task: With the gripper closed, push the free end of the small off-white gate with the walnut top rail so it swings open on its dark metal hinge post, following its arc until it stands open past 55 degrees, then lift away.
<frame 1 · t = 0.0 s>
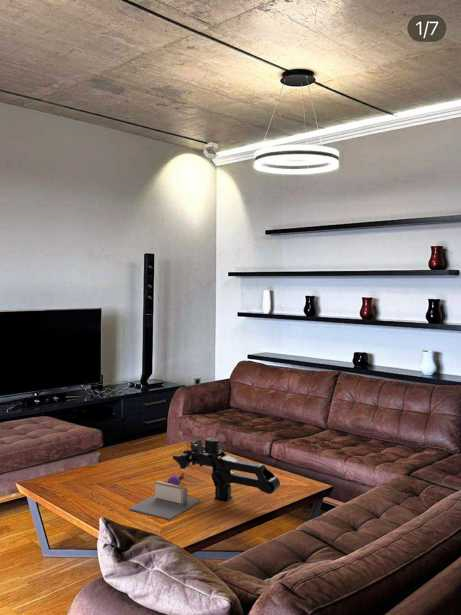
hand: (178, 454, 287), 17 cm above the table, tool horizontal, fingers open, 9 cm apart
gate: (169, 492, 269), point 5 cm above the table, hinge at 0.0°
kendama: (176, 483, 295), on the table
flat gray base plate: (165, 505, 266), on the table
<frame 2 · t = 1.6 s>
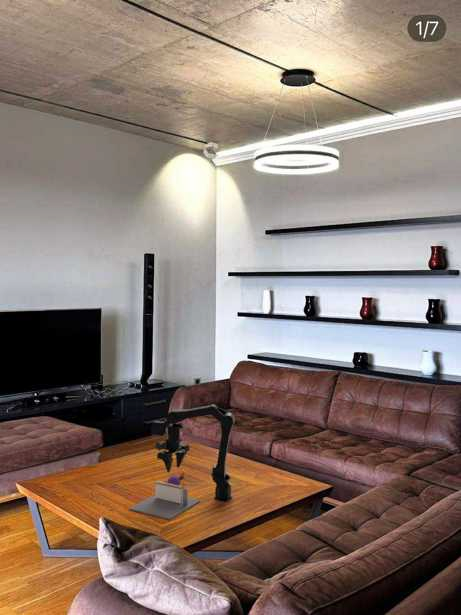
hand: (173, 469, 277), 12 cm above the table, tool pointing down, fingers open, 8 cm apart
nothing on the table moved.
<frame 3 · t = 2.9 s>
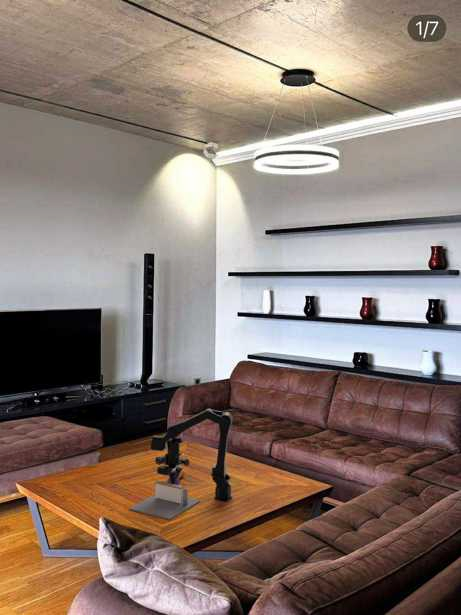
hand: (173, 484, 278), 5 cm above the table, tool pointing down, fingers closed
nothing on the table moved.
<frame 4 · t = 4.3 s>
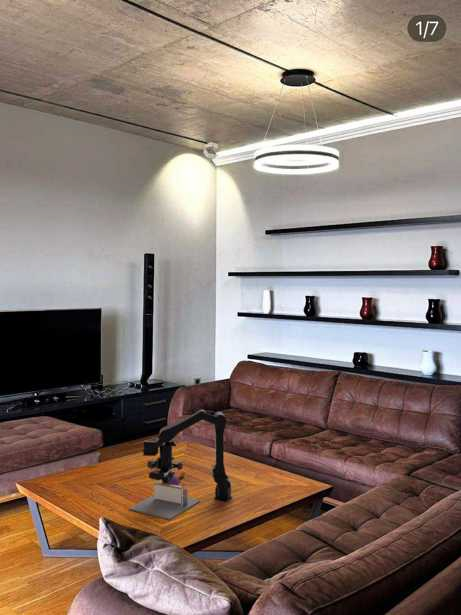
hand: (165, 488, 272), 5 cm above the table, tool pointing down, fingers closed
gate: (168, 492, 269), point 5 cm above the table, hinge at 4.3°, touching gripper
everything else where it was.
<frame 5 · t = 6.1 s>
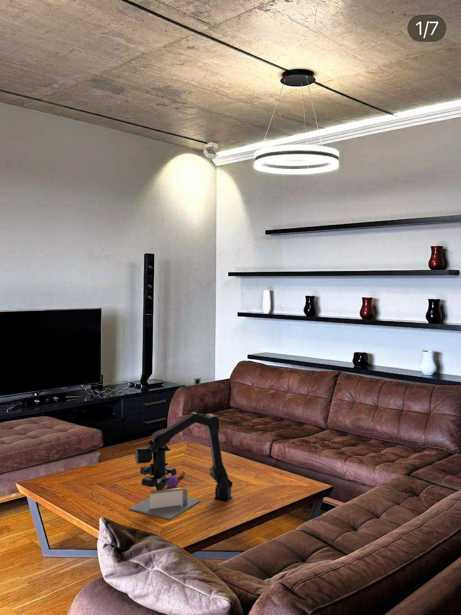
hand: (159, 495, 264), 5 cm above the table, tool pointing down, fingers closed
gate: (166, 498, 262), point 5 cm above the table, hinge at 49.4°, touching gripper
everything else where it was.
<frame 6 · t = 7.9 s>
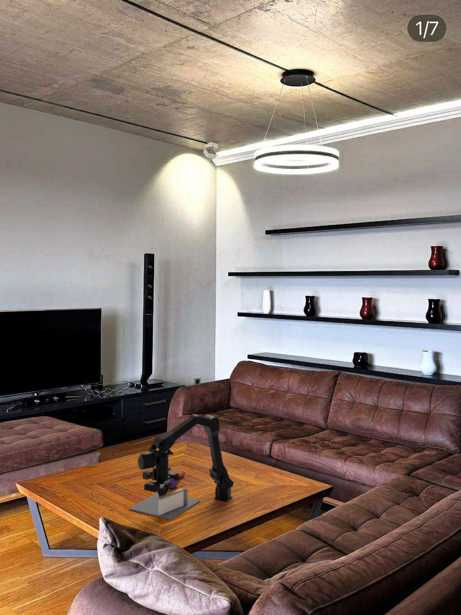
hand: (162, 500, 258), 5 cm above the table, tool pointing down, fingers closed
gate: (171, 501, 258), point 5 cm above the table, hinge at 79.7°, touching gripper
everything else where it was.
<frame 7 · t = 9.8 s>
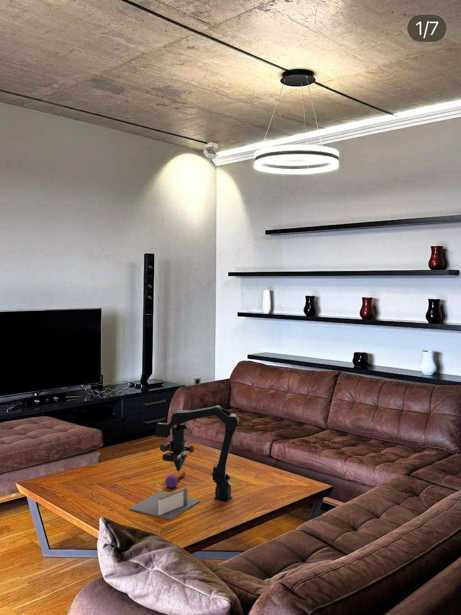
hand: (178, 471, 277), 12 cm above the table, tool pointing down, fingers closed
gate: (171, 501, 258), point 5 cm above the table, hinge at 79.7°
everything else where it was.
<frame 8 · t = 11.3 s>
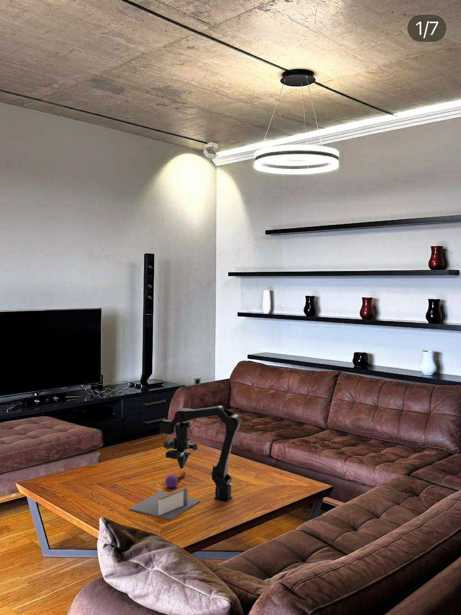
hand: (181, 468, 280), 12 cm above the table, tool pointing down, fingers closed
nothing on the table moved.
at the end: gate at +80° (first picture: +0°); kendama moved 1.1 cm from its start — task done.
